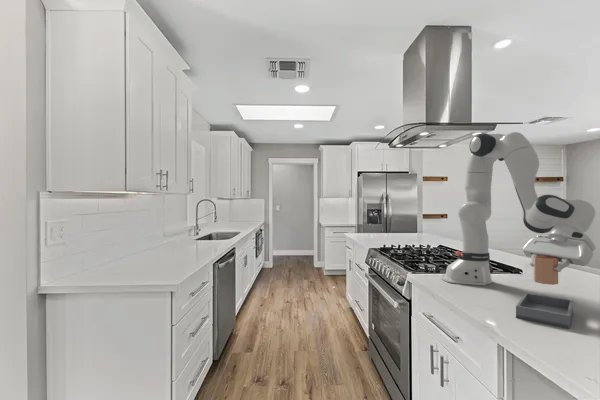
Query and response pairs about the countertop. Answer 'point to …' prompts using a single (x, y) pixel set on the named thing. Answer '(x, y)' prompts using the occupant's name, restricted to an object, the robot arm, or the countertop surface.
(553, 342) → the countertop surface
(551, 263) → the cup
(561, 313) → the tray
